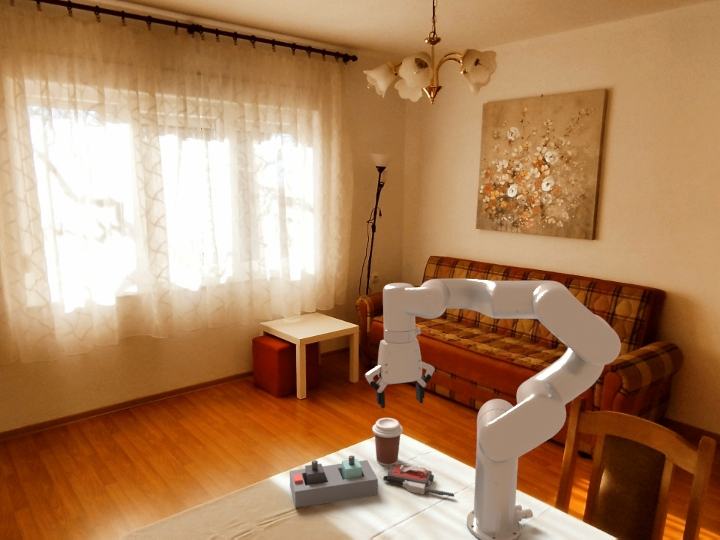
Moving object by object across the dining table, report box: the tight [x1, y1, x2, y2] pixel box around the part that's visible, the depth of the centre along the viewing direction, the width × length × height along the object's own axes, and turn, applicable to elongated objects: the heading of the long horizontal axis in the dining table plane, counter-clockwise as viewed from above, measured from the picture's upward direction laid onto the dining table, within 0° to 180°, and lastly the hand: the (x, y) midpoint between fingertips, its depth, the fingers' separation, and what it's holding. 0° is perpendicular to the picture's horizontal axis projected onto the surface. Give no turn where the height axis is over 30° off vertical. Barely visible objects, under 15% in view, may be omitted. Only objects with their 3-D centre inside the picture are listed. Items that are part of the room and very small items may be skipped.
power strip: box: [289, 459, 379, 509], centre depth 137 cm, size 22×10×9 cm, turn 105°
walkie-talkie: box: [382, 463, 455, 497], centre depth 140 cm, size 9×4×20 cm
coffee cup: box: [371, 417, 404, 467], centre depth 152 cm, size 9×9×12 cm
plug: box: [341, 455, 362, 480], centre depth 139 cm, size 4×4×9 cm
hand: (400, 403), depth 124 cm, fingers open, 9 cm apart
